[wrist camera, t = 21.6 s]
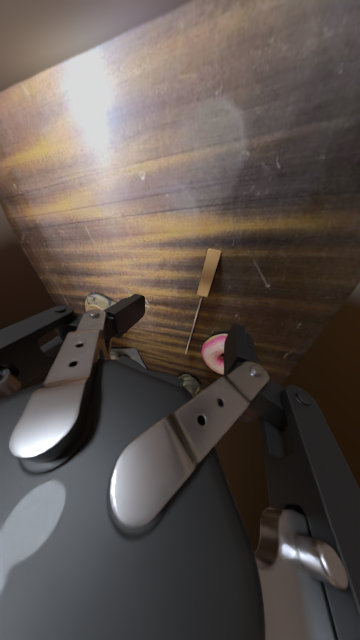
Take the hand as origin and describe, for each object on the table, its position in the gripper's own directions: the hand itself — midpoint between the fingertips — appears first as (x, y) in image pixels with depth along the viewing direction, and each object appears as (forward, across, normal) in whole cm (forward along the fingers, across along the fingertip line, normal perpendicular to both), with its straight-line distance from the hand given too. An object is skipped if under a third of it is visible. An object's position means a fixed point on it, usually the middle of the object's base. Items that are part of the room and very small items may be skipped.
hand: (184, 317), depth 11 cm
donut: (+20, -11, +20) cm, 30 cm away
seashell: (+20, -3, +43) cm, 47 cm away
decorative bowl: (+20, +31, +21) cm, 43 cm away
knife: (+20, 0, +10) cm, 23 cm away
